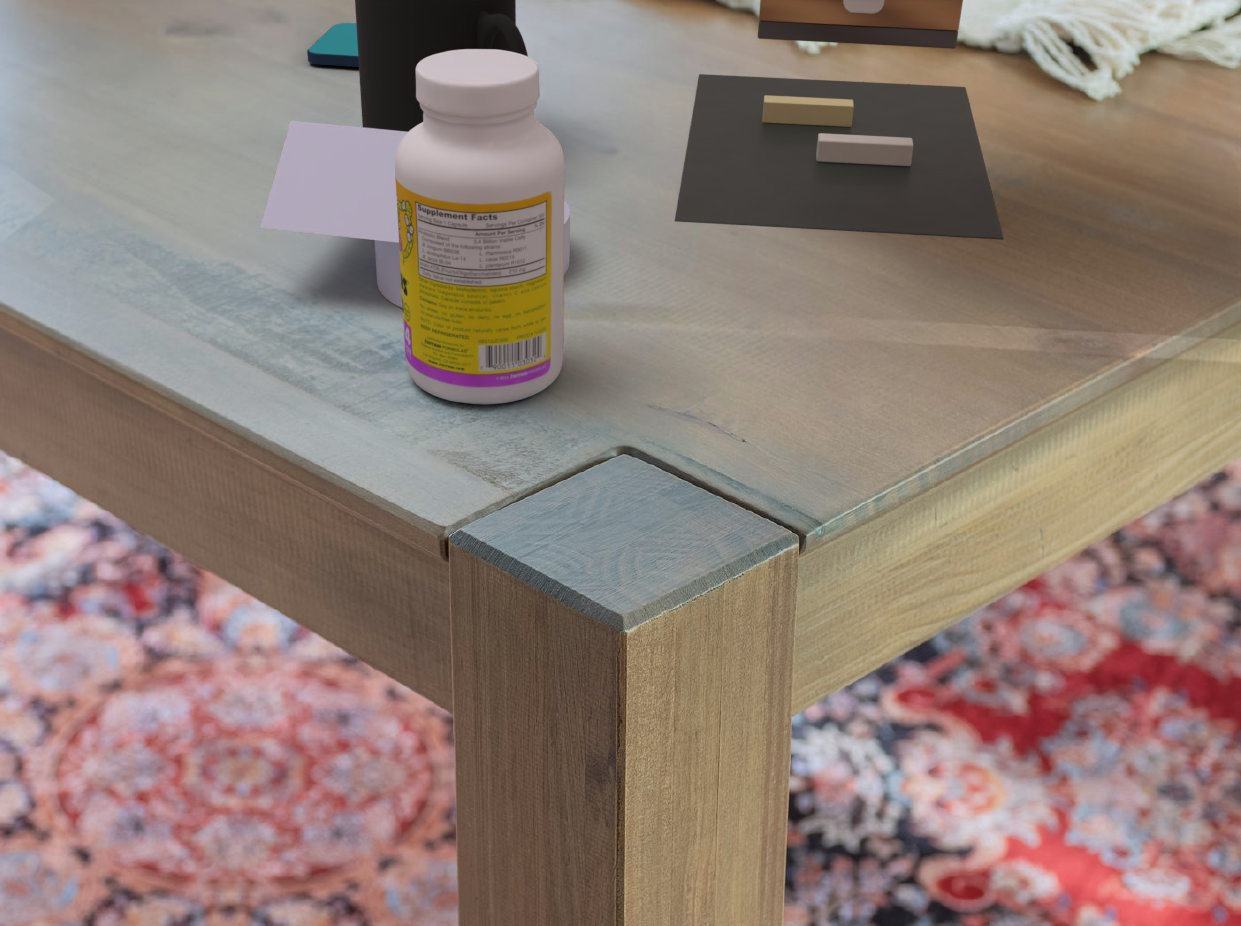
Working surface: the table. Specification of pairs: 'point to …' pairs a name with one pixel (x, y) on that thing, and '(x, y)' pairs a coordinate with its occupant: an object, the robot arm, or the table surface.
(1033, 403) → the table surface
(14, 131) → the table surface
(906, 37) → the eraser
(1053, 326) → the table surface
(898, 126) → the slate board
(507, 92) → the supplement bottle
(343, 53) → the smartphone
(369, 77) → the mug
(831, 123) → the chalk
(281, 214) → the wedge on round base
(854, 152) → the chalk
